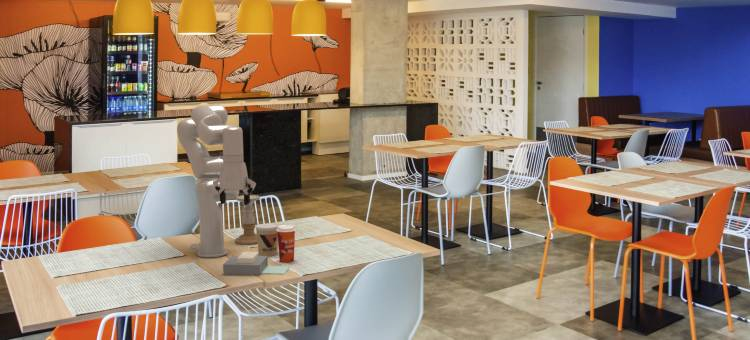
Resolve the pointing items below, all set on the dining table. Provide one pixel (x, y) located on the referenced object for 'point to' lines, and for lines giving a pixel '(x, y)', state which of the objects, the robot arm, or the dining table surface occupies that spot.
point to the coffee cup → (267, 239)
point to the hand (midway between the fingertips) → (235, 203)
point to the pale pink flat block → (248, 257)
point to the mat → (275, 270)
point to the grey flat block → (244, 266)
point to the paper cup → (286, 242)
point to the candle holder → (248, 222)
